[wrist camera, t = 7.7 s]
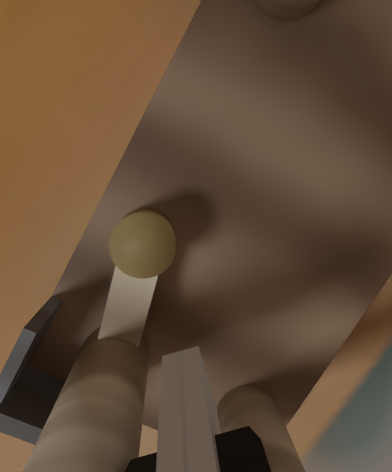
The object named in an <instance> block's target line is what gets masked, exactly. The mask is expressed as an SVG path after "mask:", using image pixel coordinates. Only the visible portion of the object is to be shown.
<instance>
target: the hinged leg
mask: <svg viewBox="0 0 392 472" xmlns="http://www.w3.org/2000/svg"><path fill="white" fill-rule="evenodd" d="M109 252H110V256H111V258H112V260H113V262H114V264H115V265H116V266H115V270H114V274H113V278H112V282H111V286H110V290H109V295H108V299H107V303H106V307H105V311H104V315H103V319H102V323H101V327H100V328H98V329H96V330H95V331H93V332H92V333H91V334H90V335H89V336H88V337H87V339H86V340H85V342H84V344H83V346H82V348H81V350H80V353H79V355H78V357H77V359H76V361H75V363H74V365H73V367H72V369H71V371H70V373H69V376H68V378H67V380H66V382H65V384H64V386H63V388H62V390H61V392H60V394H59V397H58V399H57V401H56V403H55V405H54V407H53V409H52V411H51V413H50V415H49V417H48V420H47V422H46V424H45V426H44V428H43V430H42V432H41V434H40V436H39V438H38V441H37V443H36V445H35V447H34V449H33V451H32V453H31V455H30V457H29V459H28V461H27V464H26V466H25V468H24V470H23V472H124V471H125V469H126V467H127V466H128V464H129V462H130V460H131V459H135V458H138V457H139V448H140V439H141V429H142V420H143V411H144V401H145V392H146V382H147V373H148V364H149V348H148V345H147V342H146V341H145V339H144V338H143V336H142V333H143V329H144V326H145V322H146V318H147V315H148V311H149V307H150V304H151V300H152V296H153V293H154V289H155V285H156V281H157V278H158V275H159V274H161V273H163V272H164V271H165V270H166V269H167V268H168V267H169V266H170V264H171V263H172V261H173V259H174V256H175V252H176V239H175V231H174V227H173V225H172V223H171V221H170V220H169V219H168V218H167V217H166V216H165V215H164V214H163V213H161V212H159V211H157V210H155V209H150V208H140V209H136V210H133V211H131V212H130V213H128V214H127V215H126V216H125V217H124V218H123V219H122V220H121V221H120V222H119V224H118V225H117V226H116V227H115V228H114V230H113V232H112V234H111V237H110V241H109Z"/></svg>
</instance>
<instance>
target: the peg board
mask: <svg viewBox="0 0 392 472" xmlns="http://www.w3.org/2000/svg"><path fill="white" fill-rule="evenodd" d="M140 208H150V209H155V210H157V211H159V212H161V213H163V214H164V215H165V216H166V217H167V218H168V219H169V220H170V221H171V223H172V225H173V227H174V231H175V239H176V252H175V256H174V259H173V261H172V263H171V264H170V266H169V267H168V268H167V269H166V270H165V271H164V272H163V273H161V274H159V275H158V278H157V281H156V285H155V289H154V293H153V296H152V300H151V304H150V307H149V311H148V315H147V318H146V322H145V326H144V329H143V333H142V336H143V338H144V339H145V341H146V342H147V345H148V348H149V364H148V373H147V382H146V392H145V401H144V411H143V420H142V424H144V425H146V426H149V427H151V428H154V429H156V430H158V425H159V406H160V387H161V368H162V356H164V355H167V354H171V353H175V352H178V351H182V350H186V349H189V348H193V347H197V346H199V349H200V352H201V356H202V359H203V363H204V366H205V370H206V373H207V377H208V380H209V384H210V387H211V391H212V394H213V398H214V401H215V405H216V409H217V414H218V420H219V425H220V431H221V433H224V432H228V431H231V430H235V429H239V428H242V427H246V426H250V427H251V429H252V430H253V431H254V432H255V433H256V434H257V435H258V436H259V437H260V439H261V441H262V444H263V447H264V450H265V453H266V456H267V460H268V462H269V466H270V469H271V472H305V470H304V468H303V465H302V463H301V461H300V458H299V456H298V454H297V452H296V449H295V447H294V445H293V442H292V440H291V438H290V436H289V433H288V431H287V429H286V426H287V425H288V423H289V422H290V420H291V419H292V417H293V416H294V414H295V413H296V411H297V410H298V409H299V407H300V406H301V404H302V403H303V401H304V400H305V398H306V397H307V395H308V394H309V393H310V391H311V390H312V388H313V387H314V385H315V384H316V382H317V381H318V380H319V378H320V377H321V375H322V374H323V372H324V371H325V369H326V368H327V366H328V365H329V364H330V362H331V361H332V359H333V358H334V356H335V355H336V353H337V352H338V350H339V349H340V348H341V346H342V345H343V343H344V342H345V340H346V339H347V337H348V336H349V335H350V333H351V332H352V330H353V329H354V327H355V326H356V324H357V323H358V321H359V320H360V319H361V317H362V316H363V314H364V313H365V311H366V310H367V308H368V307H369V305H370V304H371V303H372V301H373V300H374V298H375V297H376V295H377V294H378V292H379V291H380V290H381V288H382V287H383V285H384V284H385V282H386V281H387V279H388V278H389V276H390V275H391V274H392V0H202V1H201V3H200V5H199V7H198V9H197V10H196V12H195V14H194V16H193V18H192V20H191V22H190V24H189V26H188V28H187V30H186V32H185V34H184V36H183V38H182V40H181V42H180V44H179V46H178V48H177V50H176V52H175V54H174V56H173V58H172V60H171V62H170V64H169V66H168V68H167V70H166V72H165V74H164V76H163V78H162V80H161V82H160V84H159V86H158V88H157V89H156V91H155V93H154V95H153V97H152V99H151V101H150V103H149V105H148V107H147V109H146V111H145V113H144V115H143V117H142V119H141V121H140V123H139V125H138V127H137V129H136V131H135V133H134V135H133V137H132V139H131V141H130V143H129V145H128V147H127V149H126V151H125V153H124V155H123V157H122V159H121V161H120V163H119V165H118V166H117V168H116V170H115V172H114V174H113V176H112V178H111V180H110V182H109V184H108V186H107V188H106V190H105V192H104V194H103V196H102V198H101V200H100V202H99V204H98V206H97V208H96V210H95V212H94V214H93V216H92V218H91V220H90V222H89V224H88V226H87V228H86V230H85V232H84V234H83V236H82V238H81V240H80V242H79V244H78V245H77V247H76V249H75V251H74V253H73V255H72V257H71V259H70V261H69V263H68V265H67V267H66V269H65V271H64V273H63V275H62V277H61V279H60V281H59V283H58V285H57V287H56V289H55V291H54V293H53V295H52V296H51V298H50V299H49V300H48V301H47V302H46V303H45V304H44V305H43V307H42V308H41V309H40V310H39V311H38V312H37V313H36V314H35V316H34V317H33V318H32V319H31V320H30V321H29V322H28V323H27V325H26V326H25V327H24V328H23V330H22V332H21V334H20V336H19V338H18V340H17V342H16V344H15V346H14V348H13V350H12V352H11V354H10V356H9V358H8V360H7V362H6V364H5V366H4V368H3V370H2V372H1V374H0V432H2V433H4V434H7V435H10V436H13V437H15V438H18V439H21V440H23V441H26V442H29V443H32V444H34V445H36V443H37V441H38V438H39V436H40V434H41V432H42V430H43V428H44V426H45V424H46V422H47V420H48V417H49V415H50V413H51V411H52V409H53V407H54V405H55V403H56V401H57V399H58V397H59V394H60V392H61V390H62V388H63V386H64V384H65V382H66V380H67V378H68V376H69V373H70V371H71V369H72V367H73V365H74V363H75V361H76V359H77V357H78V355H79V353H80V350H81V348H82V346H83V344H84V342H85V340H86V339H87V337H88V336H89V335H90V334H91V333H92V332H93V331H95V330H96V329H98V328H100V327H101V323H102V319H103V315H104V311H105V307H106V303H107V299H108V295H109V290H110V286H111V282H112V278H113V274H114V270H115V266H116V265H115V264H114V262H113V260H112V258H111V256H110V252H109V241H110V237H111V234H112V232H113V230H114V228H115V227H116V226H117V225H118V224H119V222H120V221H121V220H122V219H123V218H124V217H125V216H126V215H127V214H128V213H130V212H131V211H133V210H136V209H140Z"/></svg>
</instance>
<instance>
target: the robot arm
mask: <svg viewBox="0 0 392 472" xmlns="http://www.w3.org/2000/svg"><path fill="white" fill-rule="evenodd" d="M124 472H271V469H270V466H269V462H268V460H267V456H266V453H265V450H264V447H263V444H262V441H261V439H260V437H259V436H258V435H257V434H256V433H255V432H254V431H253V430H252V429H251V427H250V426H246V427H242V428H239V429H235V430H231V431H228V432H224V433H221V431H220V425H219V420H218V414H217V409H216V405H215V401H214V398H213V394H212V391H211V387H210V384H209V380H208V377H207V373H206V370H205V366H204V363H203V359H202V356H201V352H200V349H199V346H197V347H193V348H189V349H186V350H182V351H178V352H175V353H171V354H167V355H164V356H162V368H161V387H160V406H159V425H158V444H157V452H156V453H153V454H149V455H146V456H142V457H138V458H135V459H131V460H130V462H129V464H128V466H127V467H126V469H125V471H124Z"/></svg>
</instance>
